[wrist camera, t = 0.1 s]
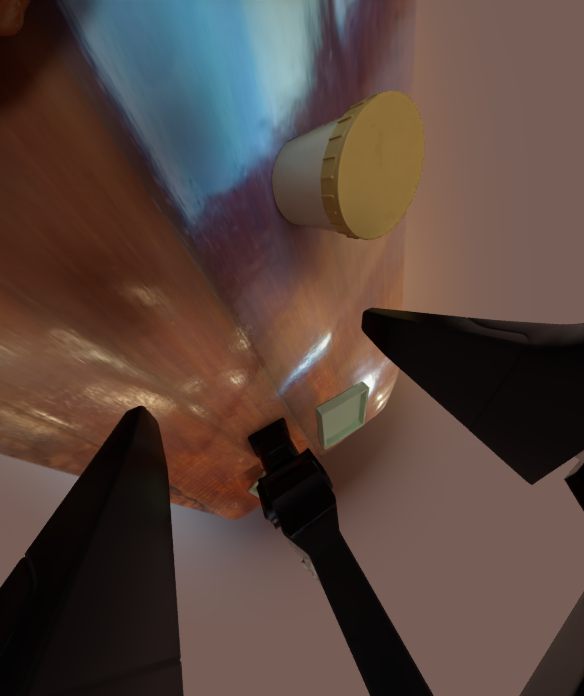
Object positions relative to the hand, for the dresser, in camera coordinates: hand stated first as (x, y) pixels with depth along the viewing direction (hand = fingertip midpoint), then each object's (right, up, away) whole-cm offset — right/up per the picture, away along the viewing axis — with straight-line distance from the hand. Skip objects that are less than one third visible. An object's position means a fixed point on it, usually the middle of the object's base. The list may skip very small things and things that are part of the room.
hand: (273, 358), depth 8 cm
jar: (+2, +15, +11) cm, 19 cm away
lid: (+6, +11, +5) cm, 13 cm away
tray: (+11, -13, +36) cm, 40 cm away
